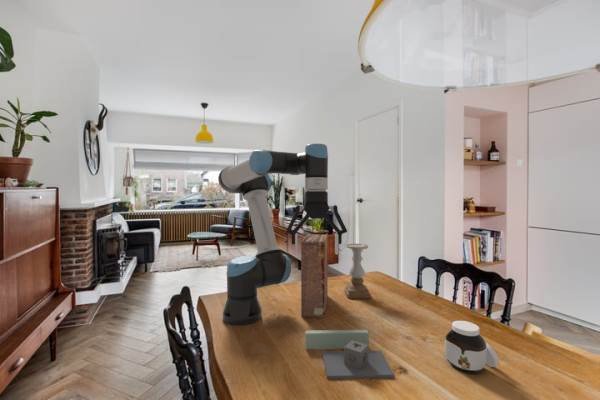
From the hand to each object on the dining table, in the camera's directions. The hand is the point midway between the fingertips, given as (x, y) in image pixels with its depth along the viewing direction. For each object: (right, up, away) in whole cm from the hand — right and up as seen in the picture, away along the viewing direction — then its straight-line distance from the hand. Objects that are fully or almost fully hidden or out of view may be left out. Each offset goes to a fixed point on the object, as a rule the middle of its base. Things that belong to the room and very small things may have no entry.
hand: (316, 254), depth 100 cm
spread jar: (+43, -29, -15) cm, 55 cm away
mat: (+10, -29, -15) cm, 34 cm away
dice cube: (+10, -29, -15) cm, 34 cm away
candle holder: (+22, -28, +43) cm, 56 cm away
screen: (+6, -29, -5) cm, 30 cm away
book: (+1, -28, +30) cm, 41 cm away
